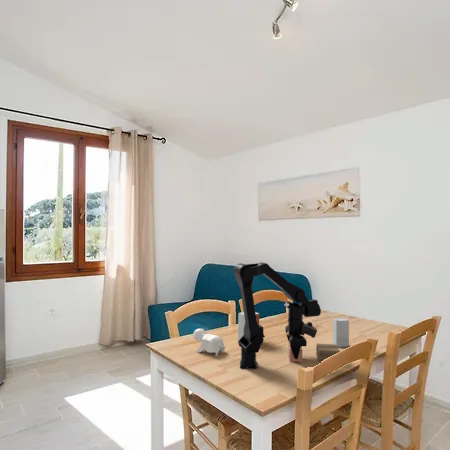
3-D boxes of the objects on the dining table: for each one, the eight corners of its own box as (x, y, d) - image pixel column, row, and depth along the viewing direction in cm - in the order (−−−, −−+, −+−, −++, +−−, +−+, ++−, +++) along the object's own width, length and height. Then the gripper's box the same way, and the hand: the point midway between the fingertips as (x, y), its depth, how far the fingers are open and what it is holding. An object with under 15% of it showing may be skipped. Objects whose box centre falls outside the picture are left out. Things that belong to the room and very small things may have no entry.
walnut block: (339, 364, 134) (340, 351, 134) (319, 362, 135) (319, 350, 135) (335, 356, 142) (335, 344, 142) (316, 355, 143) (316, 343, 143)
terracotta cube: (302, 361, 135) (302, 349, 135) (289, 361, 136) (289, 348, 136) (300, 357, 140) (300, 345, 140) (288, 356, 141) (288, 344, 141)
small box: (245, 344, 155) (246, 315, 155) (237, 340, 161) (237, 312, 161) (259, 340, 160) (259, 313, 160) (251, 337, 165) (251, 310, 165)
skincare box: (344, 343, 157) (345, 317, 157) (349, 347, 152) (349, 320, 152) (332, 344, 156) (332, 317, 156) (336, 347, 152) (336, 320, 152)
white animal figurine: (223, 357, 147) (198, 338, 155) (229, 340, 145) (203, 322, 153) (211, 363, 140) (186, 343, 148) (218, 346, 138) (191, 327, 146)
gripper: (320, 325, 128) (320, 366, 128) (311, 312, 147) (311, 348, 147) (290, 324, 129) (290, 365, 129) (285, 312, 147) (285, 347, 147)
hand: (295, 356), depth 138 cm, fingers closed on terracotta cube, 5 cm apart
